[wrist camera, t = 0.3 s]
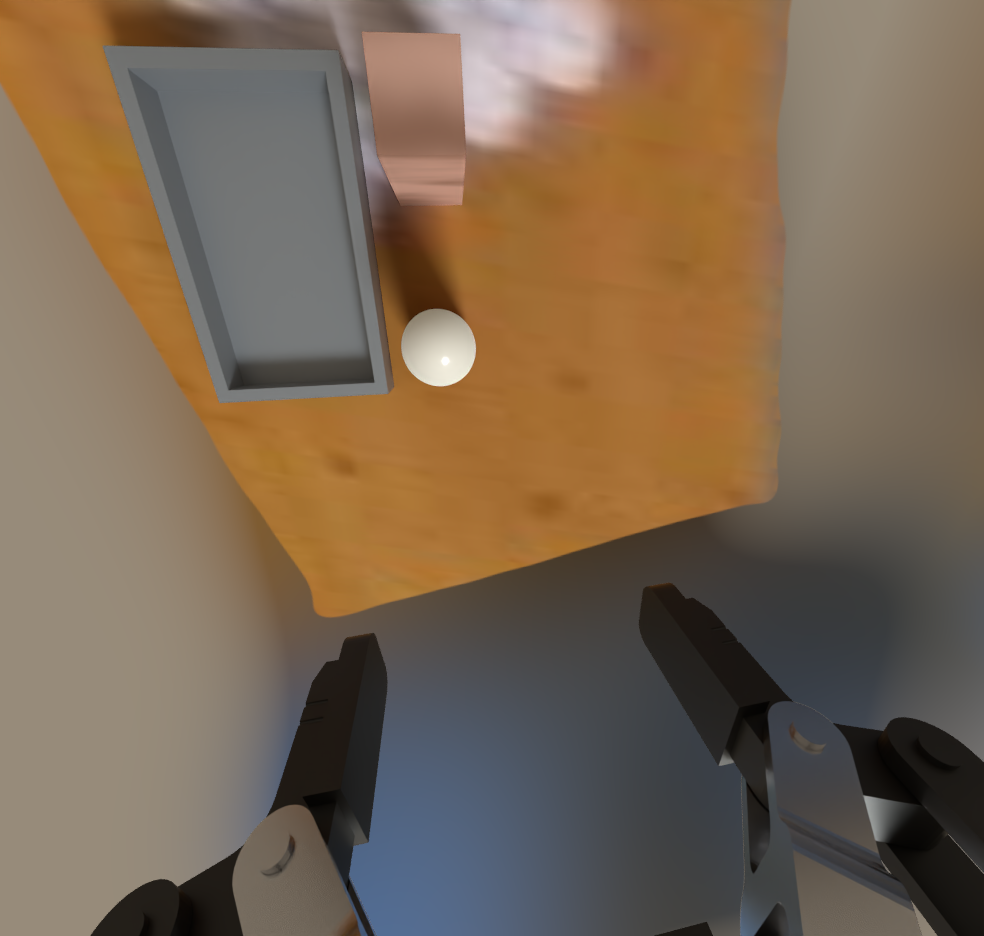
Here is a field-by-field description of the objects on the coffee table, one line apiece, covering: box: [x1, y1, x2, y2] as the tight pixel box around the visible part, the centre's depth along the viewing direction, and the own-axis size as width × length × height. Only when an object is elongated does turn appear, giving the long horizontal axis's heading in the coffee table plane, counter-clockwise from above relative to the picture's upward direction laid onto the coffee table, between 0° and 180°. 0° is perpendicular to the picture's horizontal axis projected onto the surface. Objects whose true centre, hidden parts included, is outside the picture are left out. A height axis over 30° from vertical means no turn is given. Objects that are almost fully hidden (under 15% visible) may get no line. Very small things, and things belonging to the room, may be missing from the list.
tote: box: [103, 46, 394, 403], centre depth 29 cm, size 22×14×4 cm, turn 2°
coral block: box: [362, 32, 466, 206], centre depth 24 cm, size 5×5×10 cm
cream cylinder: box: [401, 309, 476, 386], centre depth 29 cm, size 5×5×10 cm
